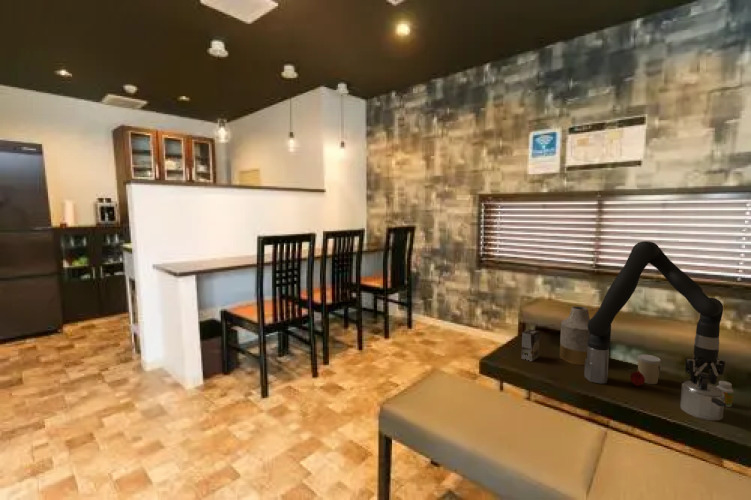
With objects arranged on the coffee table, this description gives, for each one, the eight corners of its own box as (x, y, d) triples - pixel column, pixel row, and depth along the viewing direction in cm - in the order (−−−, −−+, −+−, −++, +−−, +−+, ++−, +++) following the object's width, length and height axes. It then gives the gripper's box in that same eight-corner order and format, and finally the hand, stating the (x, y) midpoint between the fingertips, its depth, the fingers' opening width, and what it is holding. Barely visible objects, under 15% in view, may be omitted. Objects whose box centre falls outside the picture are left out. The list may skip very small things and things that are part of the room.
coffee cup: (663, 385, 173) (665, 362, 172) (642, 384, 175) (643, 360, 174) (653, 377, 182) (654, 354, 181) (632, 375, 184) (634, 353, 183)
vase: (557, 360, 204) (559, 309, 200) (561, 350, 219) (563, 302, 215) (594, 368, 193) (597, 314, 190) (596, 356, 208) (599, 306, 205)
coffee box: (531, 362, 202) (532, 335, 201) (521, 358, 207) (521, 332, 205) (538, 357, 209) (539, 331, 207) (528, 354, 213) (528, 328, 212)
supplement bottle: (728, 408, 153) (730, 386, 152) (712, 402, 158) (714, 381, 157) (734, 405, 155) (736, 384, 154) (718, 399, 160) (720, 379, 159)
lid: (699, 396, 144) (700, 380, 143) (676, 382, 156) (677, 367, 155) (730, 397, 143) (732, 381, 142) (705, 382, 155) (706, 368, 154)
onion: (645, 389, 169) (646, 374, 168) (630, 387, 172) (631, 371, 171) (643, 384, 174) (644, 369, 173) (629, 382, 177) (630, 366, 176)
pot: (738, 425, 140) (740, 401, 139) (703, 424, 141) (705, 400, 140) (698, 400, 159) (700, 379, 158) (667, 399, 160) (669, 378, 159)
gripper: (695, 348, 144) (692, 387, 146) (733, 349, 143) (729, 388, 145) (681, 342, 152) (678, 378, 153) (716, 342, 150) (713, 379, 152)
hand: (703, 383), depth 149 cm, fingers open, 6 cm apart
